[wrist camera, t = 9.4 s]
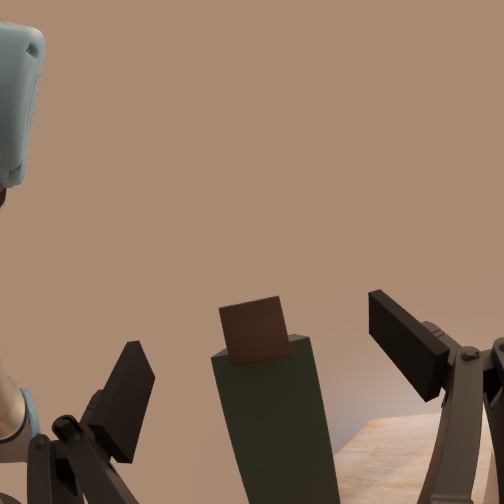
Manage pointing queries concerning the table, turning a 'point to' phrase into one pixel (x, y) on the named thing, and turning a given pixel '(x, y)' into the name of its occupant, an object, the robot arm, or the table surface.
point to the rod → (255, 331)
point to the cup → (492, 483)
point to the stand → (279, 427)
